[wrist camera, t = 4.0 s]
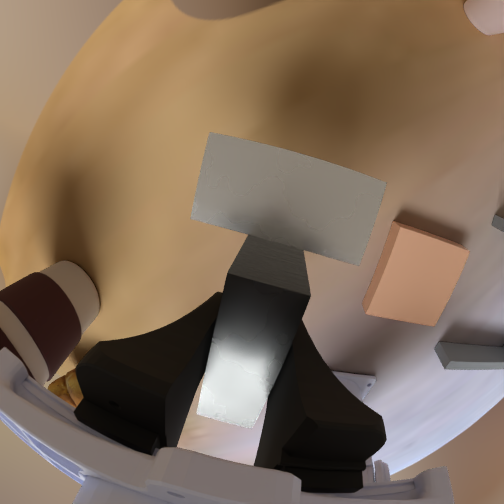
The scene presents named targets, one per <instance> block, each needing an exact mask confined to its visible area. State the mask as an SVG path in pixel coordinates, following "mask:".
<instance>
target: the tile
mask: <svg viewBox="0 0 504 504" xmlns="http://www.w3.org/2000/svg"><path fill="white" fill-rule="evenodd" d="M469 253H470V251H469V250H467V249H466V248H465V247H463V246H462V245H461V244H458V243H456V242H453V241H450V240H448V239H445V238H442V237H439V236H437V235H434V234H431V233H428V232H425V231H422V230H419V229H416V228H413V227H410V226H407V225H404V224H401V223H398V222H395V221H393V223H392V226H391V229H390V232H389V235H388V238H387V241H386V243H385V246H384V249H383V252H382V255H381V257H380V260H379V263H378V265H377V268H376V270H375V273H374V276H373V278H372V281H371V283H370V286H369V288H368V290H367V293H366V295H365V297H364V300H363V302H362V305H363V308H364V311H365V313H366V314H368V315H373V316H378V317H383V318H388V319H394V320H399V321H405V322H410V323H416V324H422V325H427V326H433V327H434V326H435V325H436V323H437V321H438V319H439V317H440V316H441V314H442V312H443V310H444V308H445V306H446V304H447V302H448V300H449V298H450V296H451V294H452V292H453V290H454V288H455V286H456V284H457V281H458V279H459V277H460V275H461V272H462V270H463V268H464V265H465V263H466V260H467V258H468V255H469Z"/></svg>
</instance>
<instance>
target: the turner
mask: <svg viewBox="0 0 504 504" xmlns="http://www.w3.org/2000/svg"><path fill="white" fill-rule="evenodd" d="M386 184H387V183H386V182H384V181H381V180H379V179H376V178H373V177H371V176H368V175H365V174H362V173H360V172H357V171H354V170H351V169H348V168H345V167H342V166H339V165H336V164H333V163H330V162H327V161H324V160H321V159H318V158H314V157H311V156H308V155H304V154H301V153H297V152H294V151H290V150H286V149H283V148H279V147H275V146H271V145H267V144H263V143H259V142H254V141H250V140H246V139H241V138H237V137H232V136H227V135H222V134H217V133H212V132H210V133H209V137H208V141H207V145H206V149H205V153H204V157H203V162H202V166H201V170H200V175H199V179H198V184H197V189H196V193H195V198H194V203H193V208H192V213H191V218H190V219H193V220H197V221H201V222H204V223H208V224H212V225H215V226H219V227H223V228H227V229H230V230H234V231H238V232H241V233H245V234H248V237H247V238H246V240H245V242H244V244H243V246H242V247H241V249H240V251H239V253H238V255H237V256H236V258H235V260H234V262H233V264H232V265H231V267H230V269H229V271H228V273H227V277H226V281H225V285H224V290H223V294H222V298H221V303H220V307H219V312H218V316H217V320H216V325H215V329H214V334H213V338H212V343H211V347H210V352H209V357H208V361H207V366H206V371H205V375H204V380H203V385H202V390H201V394H200V399H199V404H198V409H197V414H198V415H202V416H205V417H208V418H212V419H215V420H219V421H222V422H226V423H230V424H234V425H238V426H242V427H246V428H250V429H252V428H253V426H254V424H255V422H256V420H257V418H258V416H259V414H260V412H261V410H262V408H263V406H264V404H265V402H266V400H267V398H268V396H269V393H270V391H271V389H272V387H273V385H274V383H275V381H276V378H277V376H278V374H279V372H280V369H281V367H282V365H283V363H284V360H285V358H286V356H287V353H288V351H289V349H290V346H291V344H292V342H293V339H294V337H295V335H296V332H297V330H298V327H299V325H300V322H301V320H302V317H303V315H304V312H305V310H306V307H307V305H308V302H309V299H310V297H311V294H310V287H309V281H308V275H307V269H306V263H305V257H304V252H303V250H305V251H309V252H312V253H316V254H319V255H323V256H326V257H330V258H333V259H337V260H340V261H344V262H347V263H350V264H354V265H357V266H359V265H360V262H361V260H362V257H363V254H364V252H365V249H366V246H367V243H368V241H369V238H370V235H371V232H372V229H373V226H374V223H375V220H376V217H377V214H378V211H379V208H380V204H381V201H382V198H383V195H384V191H385V188H386Z"/></svg>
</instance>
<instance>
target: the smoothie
mask: <svg viewBox="0 0 504 504" xmlns="http://www.w3.org/2000/svg"><path fill="white" fill-rule="evenodd" d="M464 11H465V13H466V15H467V17H468V19H469V20H470V21H471V23H472V24H473V25H474V26H475V27H476V28H477V29H478V30H479V31H481V32H482V33H484V34H486V35H495V34H500V33H504V0H467V1H466V2H465V3H464Z"/></svg>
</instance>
